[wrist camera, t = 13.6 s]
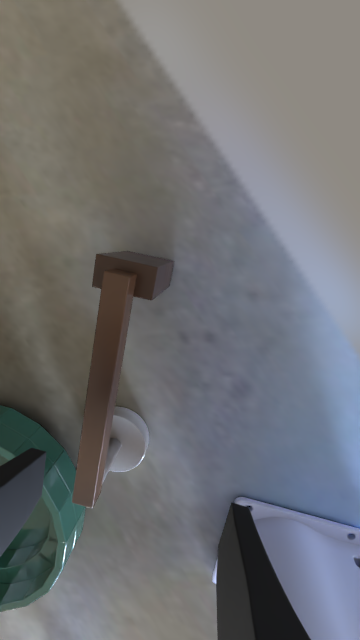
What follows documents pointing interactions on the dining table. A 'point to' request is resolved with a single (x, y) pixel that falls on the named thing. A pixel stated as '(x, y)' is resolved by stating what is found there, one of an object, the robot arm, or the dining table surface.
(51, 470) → the bowl
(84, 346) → the dining table surface
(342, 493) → the dining table surface
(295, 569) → the robot arm
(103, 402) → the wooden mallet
